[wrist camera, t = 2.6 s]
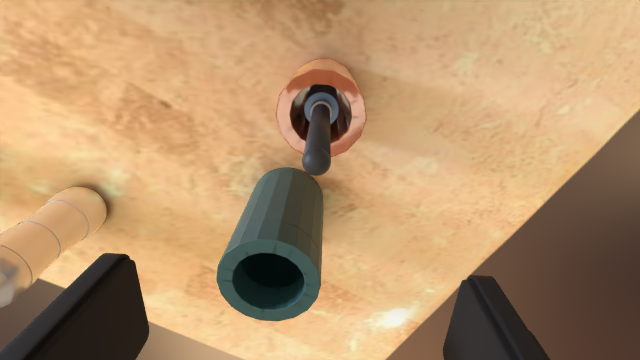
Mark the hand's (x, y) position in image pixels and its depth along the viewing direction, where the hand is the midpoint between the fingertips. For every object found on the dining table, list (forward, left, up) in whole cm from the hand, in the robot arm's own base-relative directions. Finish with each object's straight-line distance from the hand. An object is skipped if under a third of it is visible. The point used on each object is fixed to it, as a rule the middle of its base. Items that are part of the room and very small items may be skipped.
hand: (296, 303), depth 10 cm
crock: (-1, 0, -32) cm, 32 cm away
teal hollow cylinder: (+13, -4, -32) cm, 35 cm away
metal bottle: (+15, -31, -32) cm, 47 cm away
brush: (-1, 0, -31) cm, 31 cm away
